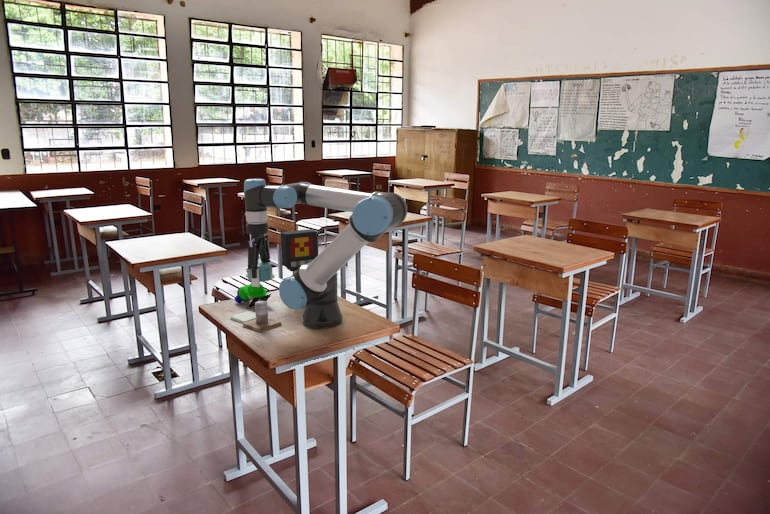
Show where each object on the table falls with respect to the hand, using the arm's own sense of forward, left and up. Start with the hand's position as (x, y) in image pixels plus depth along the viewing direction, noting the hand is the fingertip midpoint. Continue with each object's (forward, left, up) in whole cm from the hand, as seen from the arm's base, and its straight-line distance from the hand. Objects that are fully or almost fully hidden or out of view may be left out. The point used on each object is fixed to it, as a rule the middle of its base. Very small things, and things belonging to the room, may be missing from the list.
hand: (260, 283), depth 199 cm
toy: (+24, -13, -17) cm, 32 cm away
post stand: (0, 0, -17) cm, 17 cm away
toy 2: (+12, -31, -17) cm, 37 cm away
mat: (+11, -1, -17) cm, 20 cm away
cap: (0, 0, +2) cm, 2 cm away
